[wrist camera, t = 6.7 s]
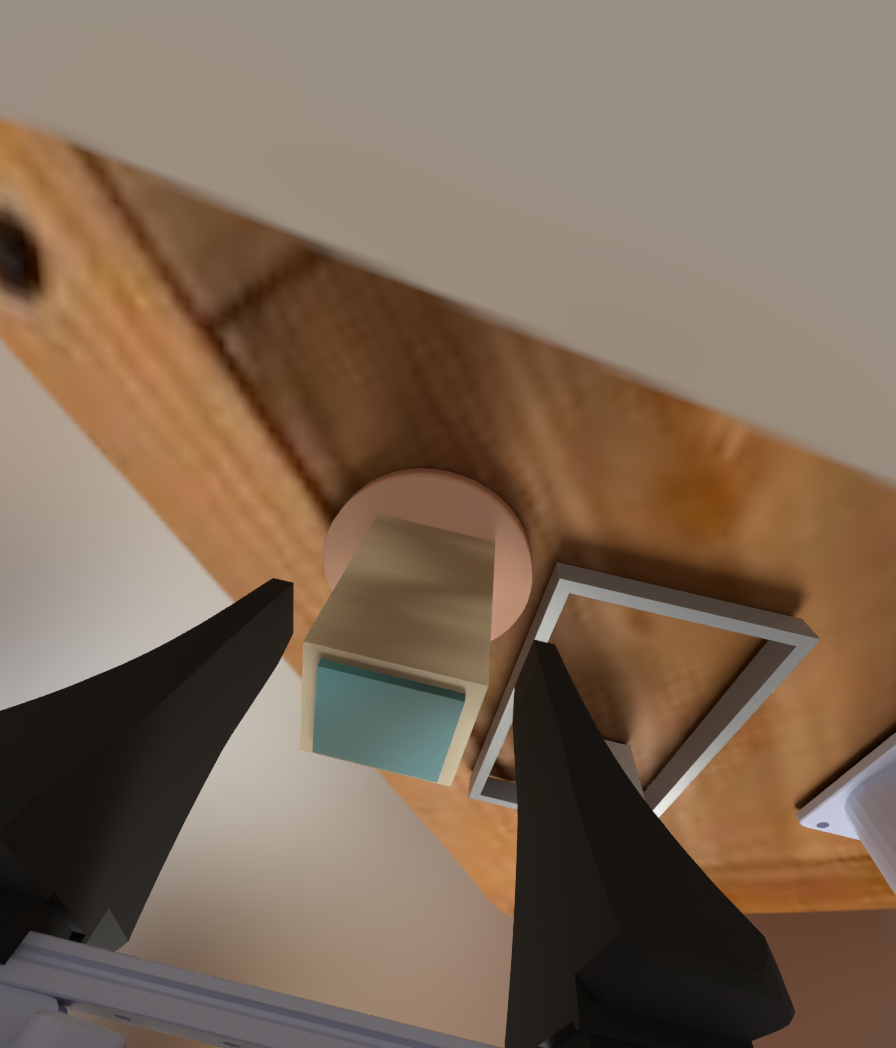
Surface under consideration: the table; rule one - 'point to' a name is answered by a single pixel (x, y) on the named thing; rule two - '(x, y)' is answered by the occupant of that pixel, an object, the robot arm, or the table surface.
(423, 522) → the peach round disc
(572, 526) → the table surface
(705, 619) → the open rectangular frame
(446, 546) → the tan and teal block
